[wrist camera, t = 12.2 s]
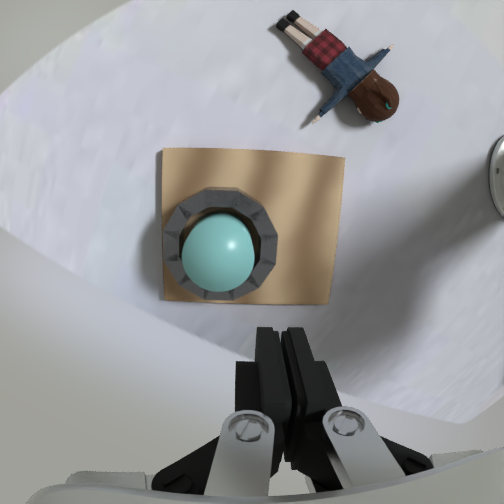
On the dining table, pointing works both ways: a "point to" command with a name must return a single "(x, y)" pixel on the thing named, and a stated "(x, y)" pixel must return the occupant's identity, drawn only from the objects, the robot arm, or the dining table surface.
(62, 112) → the dining table surface
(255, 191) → the board
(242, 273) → the teal rounded tetrahedron
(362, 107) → the toy
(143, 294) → the dining table surface
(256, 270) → the faceted gray ring
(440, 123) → the dining table surface
